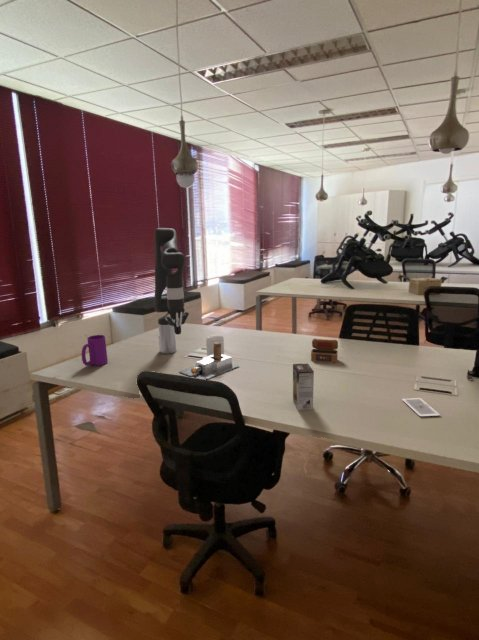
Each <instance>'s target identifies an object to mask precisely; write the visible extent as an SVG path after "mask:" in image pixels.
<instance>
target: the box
mask: <svg viewBox="0 0 479 640" xmlns="http://www.w3.org/2000/svg"><path fill="white" fill-rule="evenodd" d="M311 346H312V349H311V350H310V351H311V352H310V361H311V362H316V363H317V362H319V363H330V364H331V363H333V364H336V363H337V362H338V348H339V341H338V340H337V339H324V338H323V339H321V338H319V339H318V338H313V339H312V340H311Z"/></svg>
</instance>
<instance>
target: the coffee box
mask: <svg viewBox="0 0 479 640" xmlns="http://www.w3.org/2000/svg"><path fill="white" fill-rule="evenodd" d="M314 372H315V371H314V370H313V368H312V367H311V366H310V364H309V363H293V364H292V401H293V403H294V405H295V408H296V410H297V411H305V410H306V411H307V410H313V409H314V385H315V384H314V383H315V382H314V378H315V376H314Z"/></svg>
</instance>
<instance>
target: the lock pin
mask: <svg viewBox="0 0 479 640" xmlns="http://www.w3.org/2000/svg"><path fill="white" fill-rule="evenodd" d="M199 371H202V366H198V367H195V368H192V369H191V372H192V373H193V374H194V373H196V372H199Z"/></svg>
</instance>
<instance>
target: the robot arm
mask: <svg viewBox="0 0 479 640" xmlns="http://www.w3.org/2000/svg"><path fill="white" fill-rule="evenodd" d="M153 234H154V235H153V236H154V238H153V239H154V240H153V241H154V253H155V254H154V255H155V257H154V258H155V259H154V261H155V262H154V263H155V264H154V284H155V285H154V299H153V306H154V311H155V313H165V315H163V316H162V317H159V318H158V320H157V321H158V324H157V325H158V346H159V351H160V353H161V354H167V355H168V354H173V353H176V352H177V341H176V335H182V334H181V333H182V325H185V322H186V320H187V319H188V317H189V315H190V313H189V312H187V311H185V296H184V295H185V294H184V287H183V285H184V284H183V271H184V268H185V263H186V257H185V255H184V254H183V253H182V252H180V251H179V250H178V236H177V235H178V233H177V231H176V230H175V228H169V227H157V228H155V230H154V233H153ZM174 269H175V270H176V271H175V272H173V270H174ZM165 289H166V295H163V293H164V291H165Z"/></svg>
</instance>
